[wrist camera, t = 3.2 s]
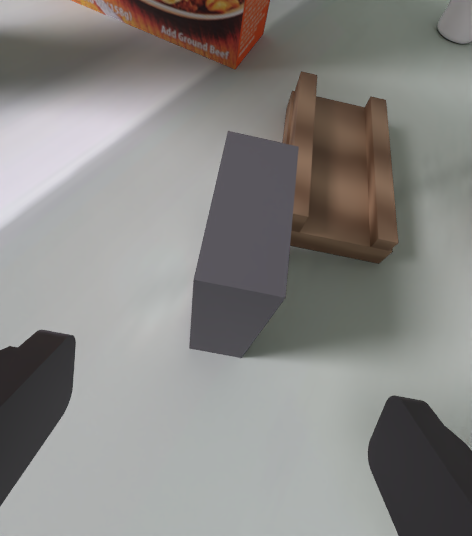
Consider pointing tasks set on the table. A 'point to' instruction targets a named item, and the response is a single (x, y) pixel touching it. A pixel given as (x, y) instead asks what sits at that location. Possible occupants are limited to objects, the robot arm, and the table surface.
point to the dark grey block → (244, 245)
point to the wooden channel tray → (341, 175)
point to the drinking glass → (457, 21)
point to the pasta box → (194, 23)
